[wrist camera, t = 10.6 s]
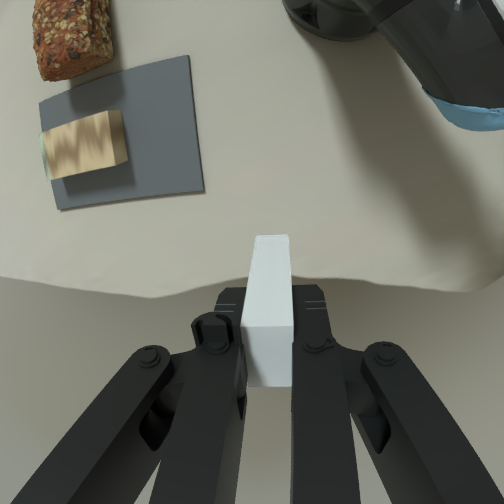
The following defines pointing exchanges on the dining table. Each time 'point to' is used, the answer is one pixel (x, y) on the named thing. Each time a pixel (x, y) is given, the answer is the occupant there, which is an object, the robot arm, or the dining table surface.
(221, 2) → the dining table surface
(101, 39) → the bread
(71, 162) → the slab
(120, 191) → the mat
